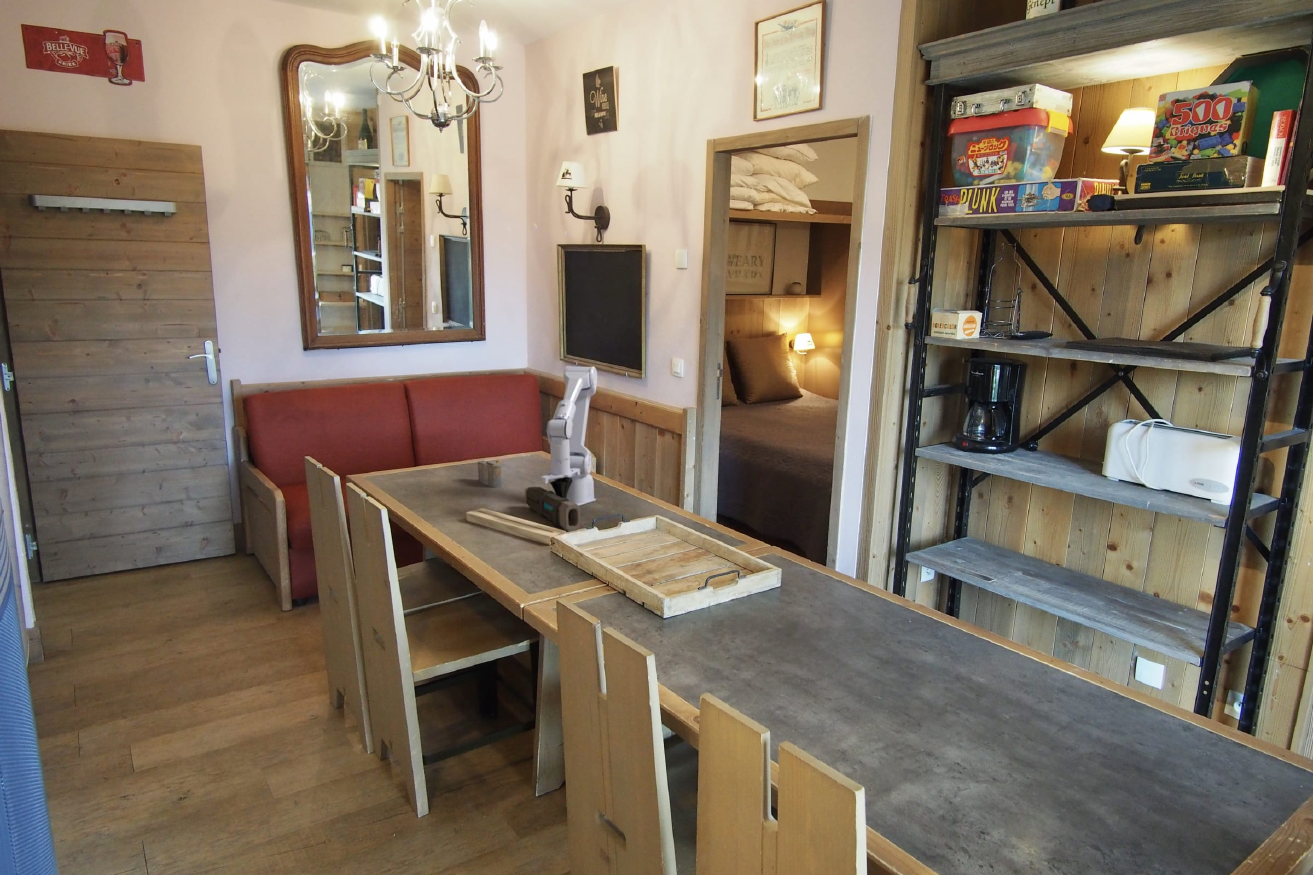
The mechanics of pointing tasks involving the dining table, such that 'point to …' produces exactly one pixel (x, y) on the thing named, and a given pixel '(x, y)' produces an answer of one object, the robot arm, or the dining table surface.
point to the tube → (554, 508)
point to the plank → (513, 525)
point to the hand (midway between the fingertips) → (561, 501)
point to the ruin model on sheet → (489, 473)
